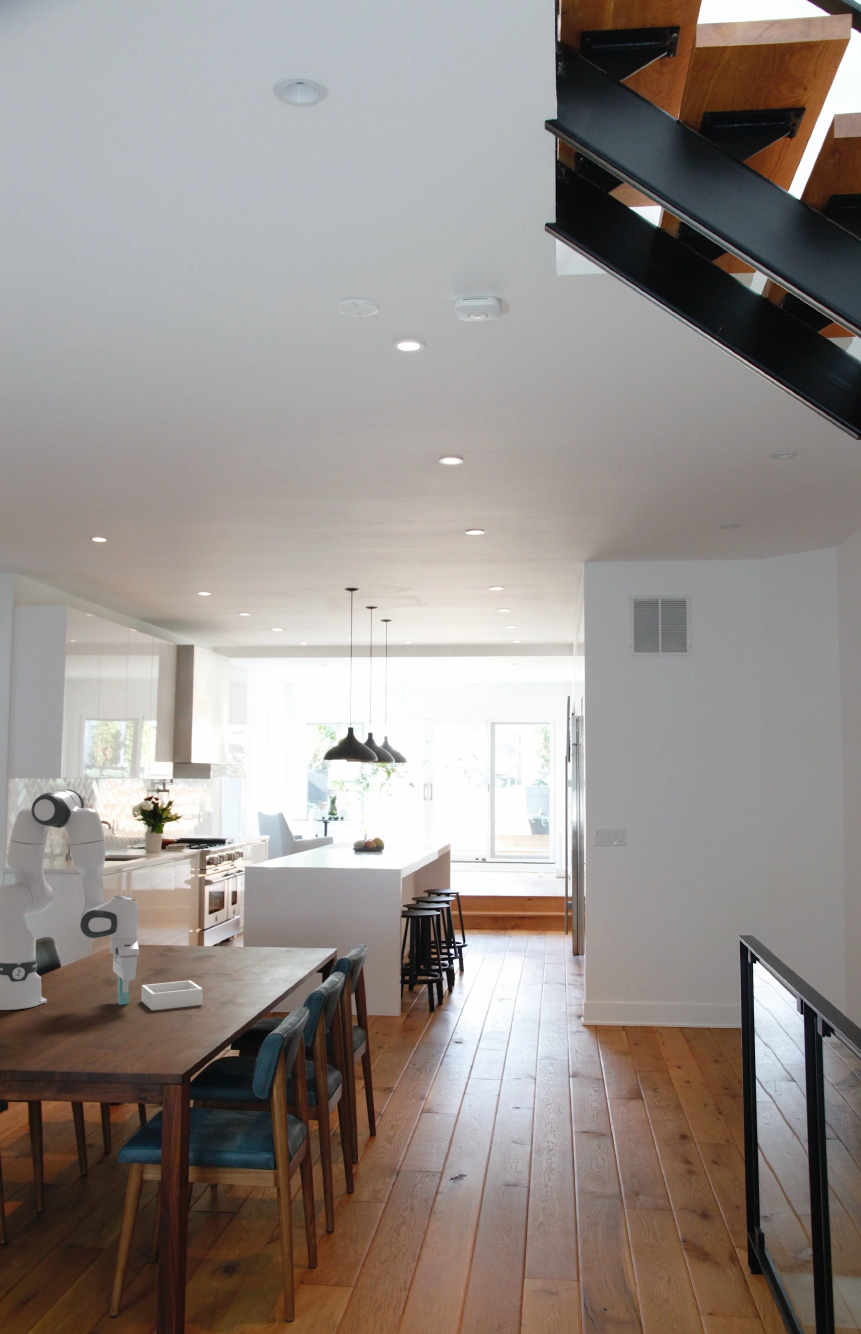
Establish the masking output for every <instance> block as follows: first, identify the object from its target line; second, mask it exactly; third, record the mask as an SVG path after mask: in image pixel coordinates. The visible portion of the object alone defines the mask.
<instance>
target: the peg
mask: <svg viewBox="0 0 861 1334" xmlns="http://www.w3.org/2000/svg"><path fill="white" fill-rule="evenodd" d="M122 983H123V982H122V979H121V978H120V977H119V976H118V975H117V1004H118V1005H119V1006H121V1005H123V1006H124V1005H129V1004H130V985H129V986H128V992H125V993H124V992H122Z"/></svg>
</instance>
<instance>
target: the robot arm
mask: <svg viewBox="0 0 861 1334" xmlns="http://www.w3.org/2000/svg"><path fill="white" fill-rule="evenodd" d="M12 826H13V827H12V831H11V836H10V840H9V848H8V852H7V853H8V854H7V859H6V863H7V865H8V868H10V869H11V870H13V872H14V879H15V880H14V881H15V882H14V883H9V884H8V883H7V884H1V885H0V1011H11V1010H13V1011H14V1010H21V1009H23V1010H24V1009H28V1008H33V1007H36V1006H38V1005H42V1004H47V1003H48V999H47V998H45V997H43V996H42V977H41V976H40V975H39V974H38V973H37V972H36V971H38V970H37V968H38V967H37V966H38V963H37V962H38V961H37V959H36V948H37V947H36V946H37V943H36V941H37V938H36V937H37V936H36V934H35V933H34V931H33V930H30V929H29V927H28V925H27V921H26V917H28V916H32V915H33V916H34V915H37V914H40V913H42V912H44V911H46V910H48V909H49V908H50V907H51V905H52V904H53V902H54V892H53V889H52V886H51V885H50V884H49V883H48V882H47V880H46V876H45V872H44V871H45V870H44V861H45V854H46V846H47V839H48V834H49V830H50V828H51V827H53V828H59V829H62V828H64V829H65V830H66V831H67V836H68V846H69V852H70V856H71V860H72V863H73V865H74V868H75V869H76V870H77V871H78V874H79V875H80V877H81V881H82V886H83V897H84V909H83V911H82V916H81V919H80V926H79V927H80V930H81V932H82V933H83V935H84V936H85V937H87V938H90V939H100V938H103V937H107V936H109V939H110V940H109V954H112V955H113V957H112V960H113V961H112V971H113V973H115V974H116V975H117V977H118V976H119V977H120V978H121V979H122V982H123V983H122V992H124V993H125V992H128V986H129V987H130V981H134V980H135V979H136V974H137V964H138V956H139V954H140V948H139V933H138V927H139V923H140V922H139V919H140V916H139V914H140V913H139V905H138V901H137V900H136V899H135V898H134V897H132V896H128V895H127V896H126V895H115V896H113V897H112V898H111V899H110V900H108V901H106V898H105V890H104V883H103V882H104V881H103V869H104V866H105V860H106V839H105V832H104V827H103V824H102V820H101V816H100V814H99V812H98V811H97V810H96V809H93V808H90V807H85V801H84V798H83V796H82V795H81V794H80V793H79V792H78V791H75V790H74V789H56V790H52V791H49V792H45V793H42V794H41V795H39V796H38V797H37V798H36V799H34V801H33V803H32V805H31V806H27V807H24V808H22V809H21V810H19V811H18V813H17V815H16V818H15V821H14V824H13V825H12Z"/></svg>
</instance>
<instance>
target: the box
mask: <svg viewBox="0 0 861 1334" xmlns="http://www.w3.org/2000/svg"><path fill="white" fill-rule="evenodd" d="M203 993H204V991H203V988H202V987H201V986H199V985H198V984H196V983H195V982H194V981H193V980H182V981H181V980H179V981H170V982H159V983H151V984H141V996H140V997H141V998H140V999H141V1002H142V1003H143V1004H144V1005H145V1006H146V1007H148V1008H149V1010H150V1011H158V1010H159V1011H160V1010H168V1009H177V1008H185V1007H195V1006H202V1005H203V1002H204V1001H203Z"/></svg>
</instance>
